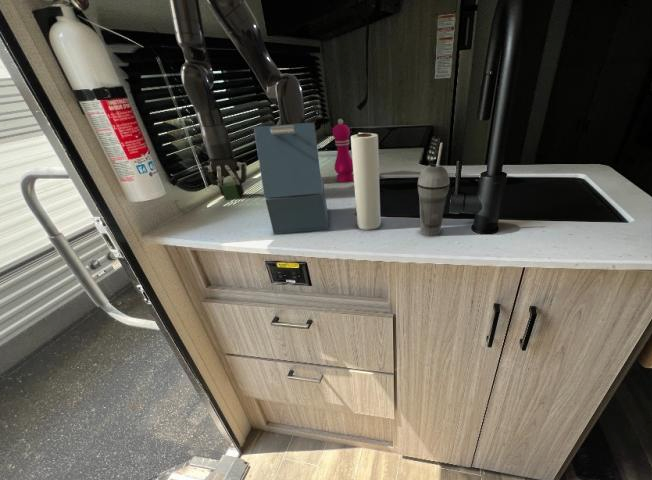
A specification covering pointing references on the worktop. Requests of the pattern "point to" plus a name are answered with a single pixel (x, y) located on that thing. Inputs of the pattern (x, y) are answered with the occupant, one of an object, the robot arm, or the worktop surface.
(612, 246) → the worktop surface
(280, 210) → the freezer
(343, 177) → the pepper mill
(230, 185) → the green cube
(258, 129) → the freezer lid
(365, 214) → the paper towel roll
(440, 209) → the beverage cup
